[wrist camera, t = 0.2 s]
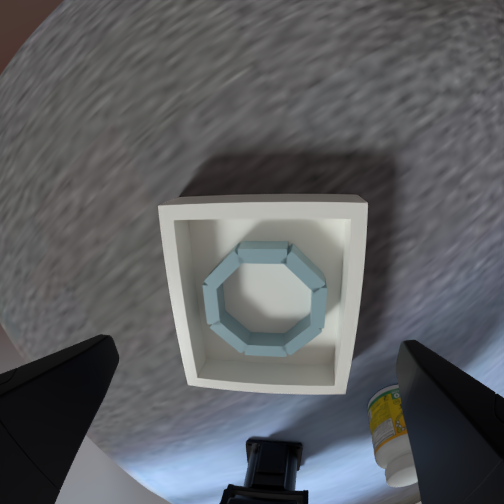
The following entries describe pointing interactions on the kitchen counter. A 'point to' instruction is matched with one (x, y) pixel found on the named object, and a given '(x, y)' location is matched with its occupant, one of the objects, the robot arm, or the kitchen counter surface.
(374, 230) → the kitchen counter surface
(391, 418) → the supplement bottle
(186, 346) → the socket box
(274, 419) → the kitchen counter surface
